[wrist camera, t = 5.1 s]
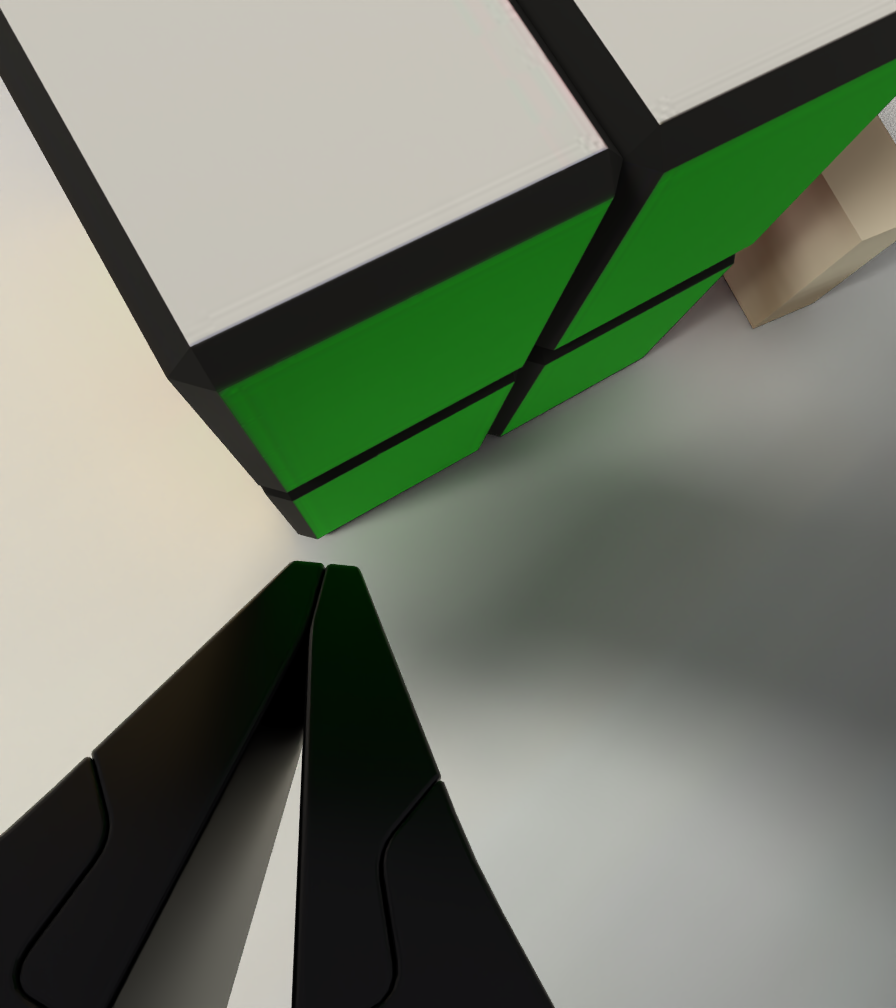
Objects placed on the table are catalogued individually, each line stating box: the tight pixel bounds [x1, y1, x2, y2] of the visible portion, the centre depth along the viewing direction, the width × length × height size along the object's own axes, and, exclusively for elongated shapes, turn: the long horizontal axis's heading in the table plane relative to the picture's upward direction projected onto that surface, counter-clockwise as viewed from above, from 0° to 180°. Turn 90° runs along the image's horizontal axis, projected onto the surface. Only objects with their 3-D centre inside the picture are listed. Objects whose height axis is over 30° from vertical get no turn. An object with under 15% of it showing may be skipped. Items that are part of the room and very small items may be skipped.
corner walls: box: [723, 115, 896, 329], centre depth 15 cm, size 18×18×4 cm
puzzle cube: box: [0, 0, 896, 539], centre depth 12 cm, size 10×10×10 cm
